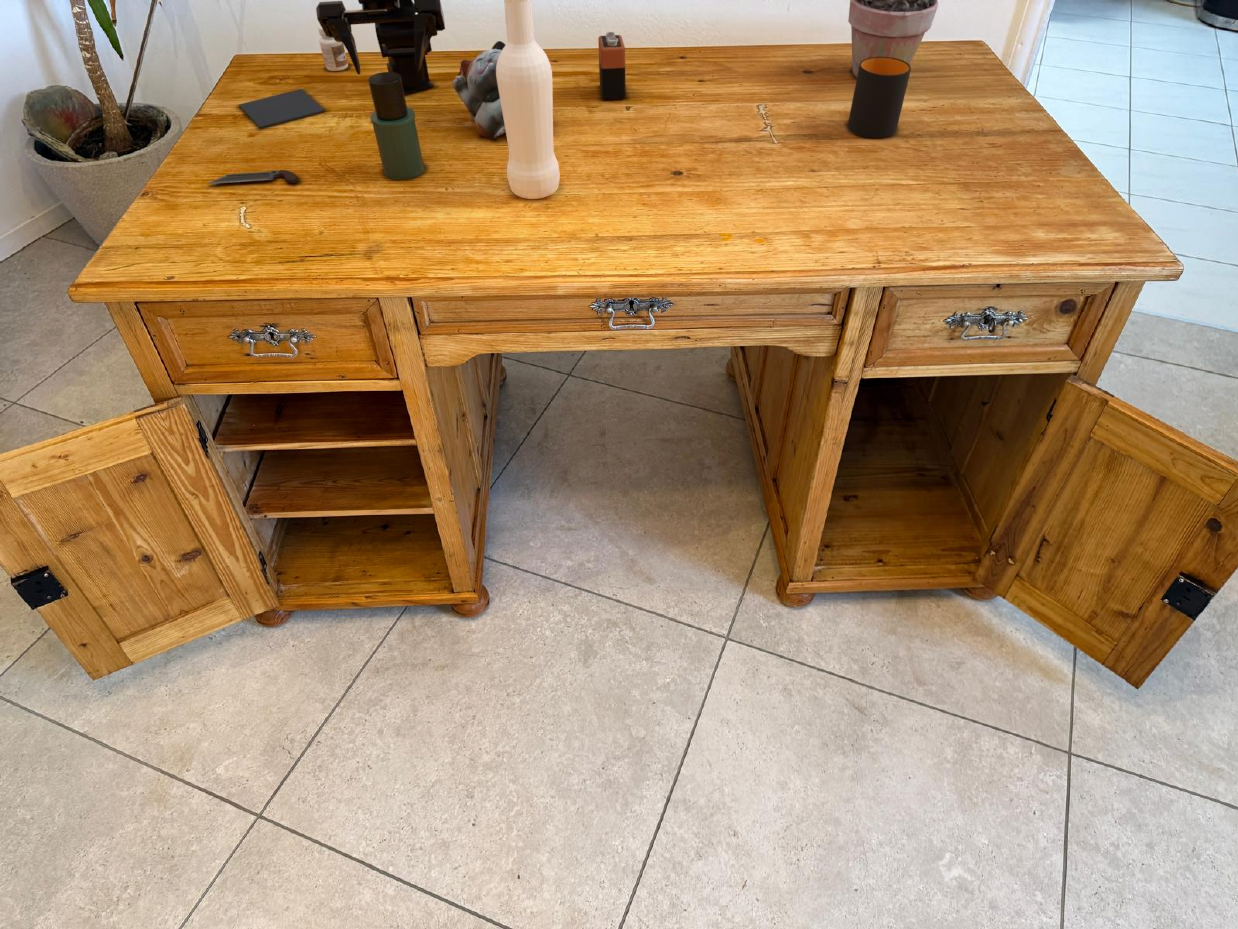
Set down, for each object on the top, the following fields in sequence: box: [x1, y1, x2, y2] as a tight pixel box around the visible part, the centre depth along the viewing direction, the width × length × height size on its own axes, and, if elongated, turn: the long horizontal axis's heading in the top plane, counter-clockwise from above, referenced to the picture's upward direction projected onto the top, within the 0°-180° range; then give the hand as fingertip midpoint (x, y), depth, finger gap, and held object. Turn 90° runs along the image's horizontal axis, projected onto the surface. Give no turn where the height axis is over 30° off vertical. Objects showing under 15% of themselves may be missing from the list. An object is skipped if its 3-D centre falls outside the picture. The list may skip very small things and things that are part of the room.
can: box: [372, 118, 425, 181], centre depth 129 cm, size 6×6×8 cm
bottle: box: [496, 0, 561, 200], centre depth 116 cm, size 8×8×30 cm
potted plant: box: [847, 0, 939, 78], centre depth 148 cm, size 18×20×25 cm
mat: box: [238, 88, 325, 130], centre depth 149 cm, size 12×12×1 cm
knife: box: [208, 169, 299, 185], centre depth 129 cm, size 14×4×1 cm, turn 97°
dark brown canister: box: [367, 71, 416, 128], centre depth 123 cm, size 7×7×7 cm
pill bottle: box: [317, 24, 349, 72], centre depth 160 cm, size 4×4×8 cm
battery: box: [597, 31, 627, 101], centre depth 148 cm, size 4×7×10 cm, turn 6°
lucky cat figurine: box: [451, 40, 506, 140], centre depth 139 cm, size 15×12×14 cm
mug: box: [847, 57, 912, 140], centre depth 138 cm, size 8×12×10 cm
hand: (388, 71), depth 126 cm, fingers open, 9 cm apart
